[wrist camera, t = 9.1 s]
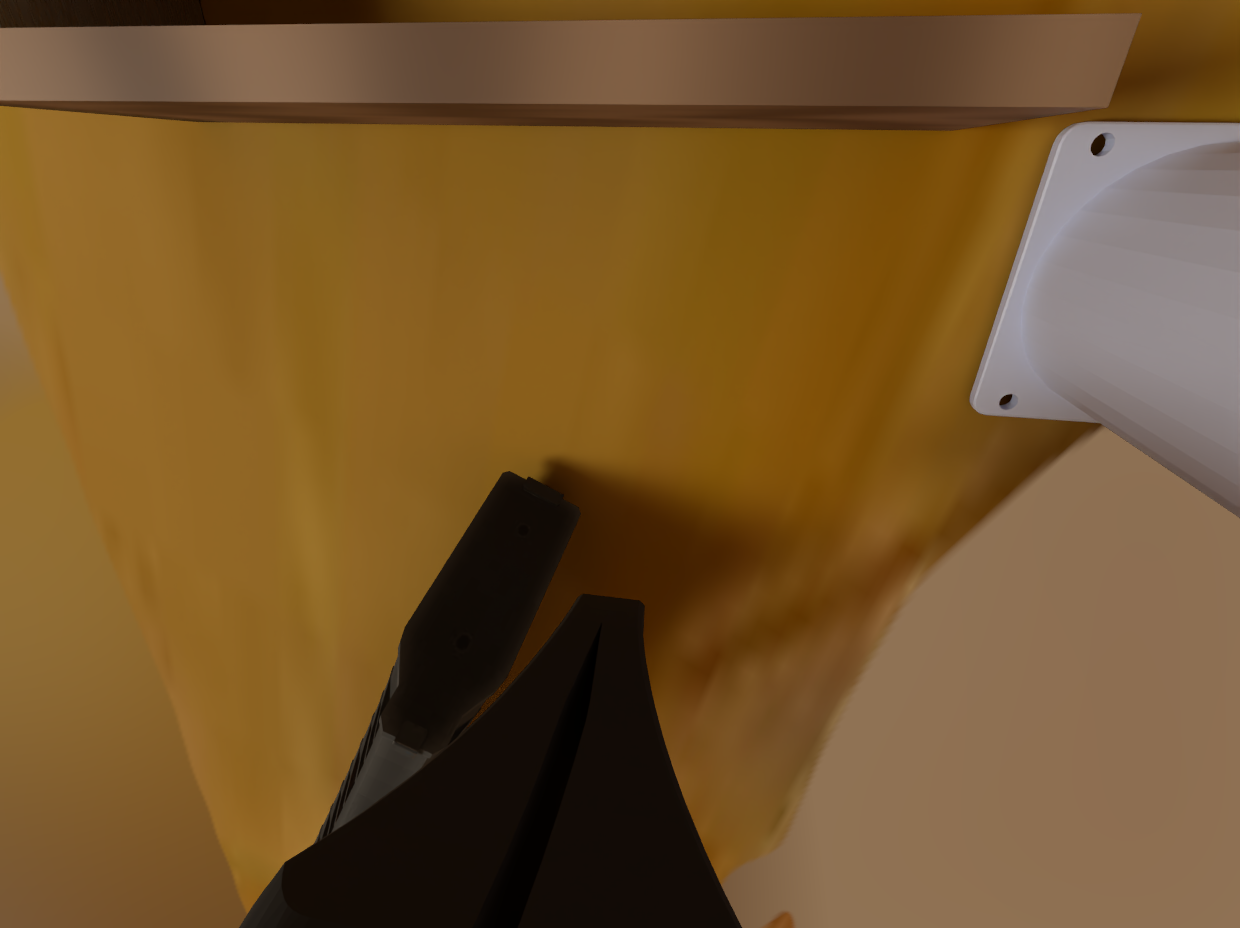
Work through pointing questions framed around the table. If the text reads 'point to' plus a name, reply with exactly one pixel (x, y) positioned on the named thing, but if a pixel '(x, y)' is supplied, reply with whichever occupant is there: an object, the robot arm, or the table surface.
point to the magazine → (460, 638)
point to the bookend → (100, 17)
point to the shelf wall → (584, 71)
